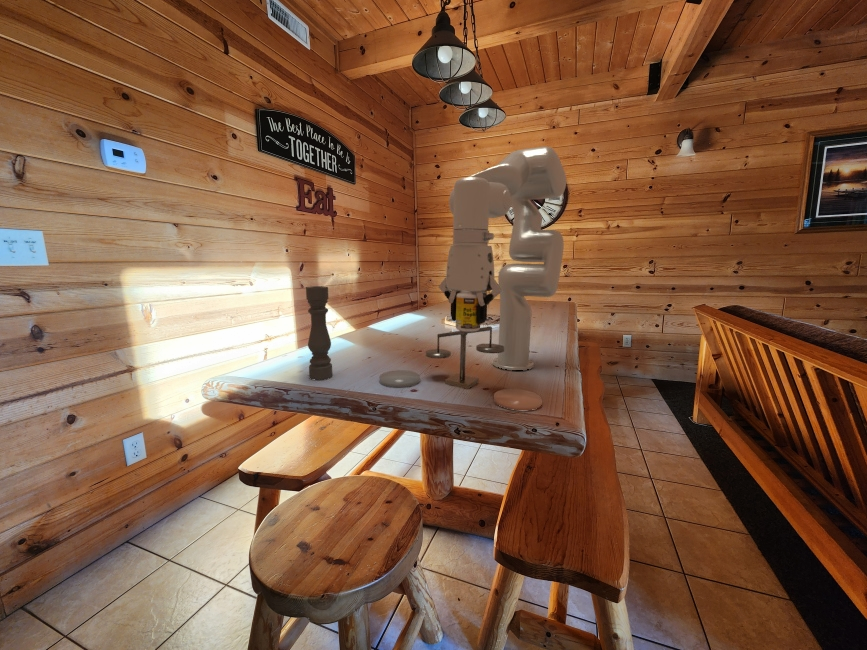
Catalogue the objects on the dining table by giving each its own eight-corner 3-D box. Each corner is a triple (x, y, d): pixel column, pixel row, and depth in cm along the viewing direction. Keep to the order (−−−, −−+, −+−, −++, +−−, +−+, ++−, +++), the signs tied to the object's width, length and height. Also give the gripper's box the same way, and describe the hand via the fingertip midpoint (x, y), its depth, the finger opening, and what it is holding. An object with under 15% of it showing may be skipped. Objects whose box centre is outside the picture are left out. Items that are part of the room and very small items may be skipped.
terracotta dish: (504, 390, 94) (504, 385, 94) (547, 399, 88) (548, 394, 88) (486, 404, 85) (486, 399, 85) (532, 415, 79) (533, 410, 79)
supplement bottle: (460, 332, 80) (461, 285, 78) (452, 327, 85) (453, 283, 83) (484, 331, 81) (486, 285, 79) (474, 326, 86) (476, 283, 84)
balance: (434, 372, 108) (434, 317, 105) (506, 387, 96) (509, 325, 93) (420, 378, 102) (420, 320, 99) (495, 396, 90) (498, 330, 87)
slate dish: (396, 372, 108) (396, 368, 107) (427, 379, 102) (427, 374, 102) (370, 382, 99) (370, 378, 98) (403, 390, 93) (403, 386, 92)
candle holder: (306, 380, 100) (301, 288, 95) (313, 373, 106) (308, 286, 101) (329, 380, 100) (325, 288, 95) (334, 373, 106) (331, 286, 101)
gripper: (514, 239, 78) (510, 323, 81) (445, 240, 87) (444, 315, 90) (500, 237, 72) (496, 328, 75) (427, 239, 81) (427, 320, 84)
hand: (468, 320), depth 83 cm, fingers closed on supplement bottle, 5 cm apart
